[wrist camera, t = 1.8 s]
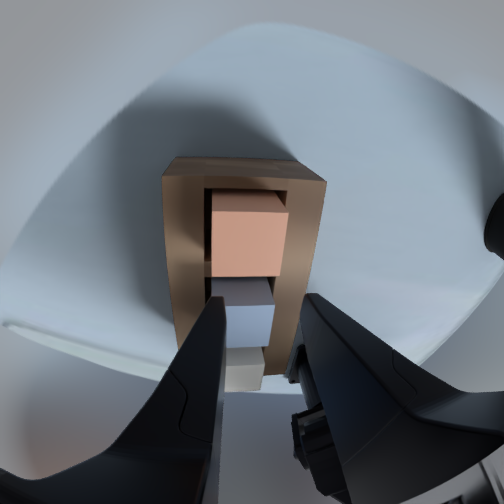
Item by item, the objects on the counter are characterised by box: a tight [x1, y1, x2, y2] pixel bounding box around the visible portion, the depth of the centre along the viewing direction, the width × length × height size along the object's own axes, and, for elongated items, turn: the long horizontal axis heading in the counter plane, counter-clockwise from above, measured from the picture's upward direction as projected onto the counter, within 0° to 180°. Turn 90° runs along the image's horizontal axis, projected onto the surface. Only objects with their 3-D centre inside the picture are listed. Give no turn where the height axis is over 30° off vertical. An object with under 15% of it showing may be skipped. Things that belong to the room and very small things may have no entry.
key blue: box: [211, 277, 275, 348], centre depth 16 cm, size 3×3×4 cm
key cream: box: [224, 346, 265, 392], centre depth 19 cm, size 3×3×4 cm
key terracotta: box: [211, 188, 289, 277], centre depth 14 cm, size 3×3×4 cm
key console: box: [162, 157, 327, 376], centre depth 19 cm, size 15×8×5 cm, turn 175°
